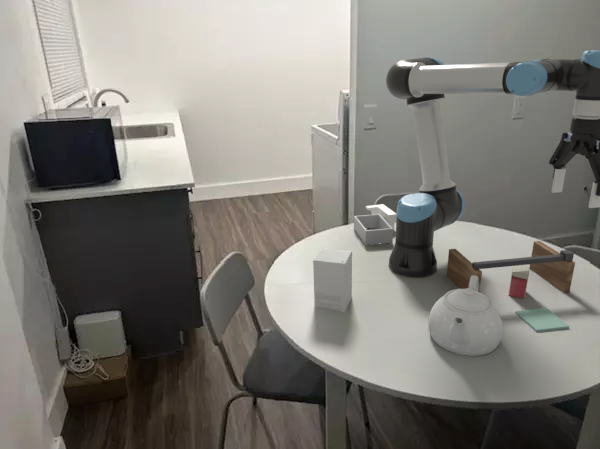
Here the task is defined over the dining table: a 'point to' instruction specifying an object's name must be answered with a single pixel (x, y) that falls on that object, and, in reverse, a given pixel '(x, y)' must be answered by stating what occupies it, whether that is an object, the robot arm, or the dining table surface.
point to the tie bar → (525, 260)
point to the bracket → (384, 213)
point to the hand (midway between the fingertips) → (574, 199)
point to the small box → (519, 281)
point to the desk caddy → (373, 236)
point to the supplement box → (333, 279)
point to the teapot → (466, 321)
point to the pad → (542, 319)
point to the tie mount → (551, 271)
